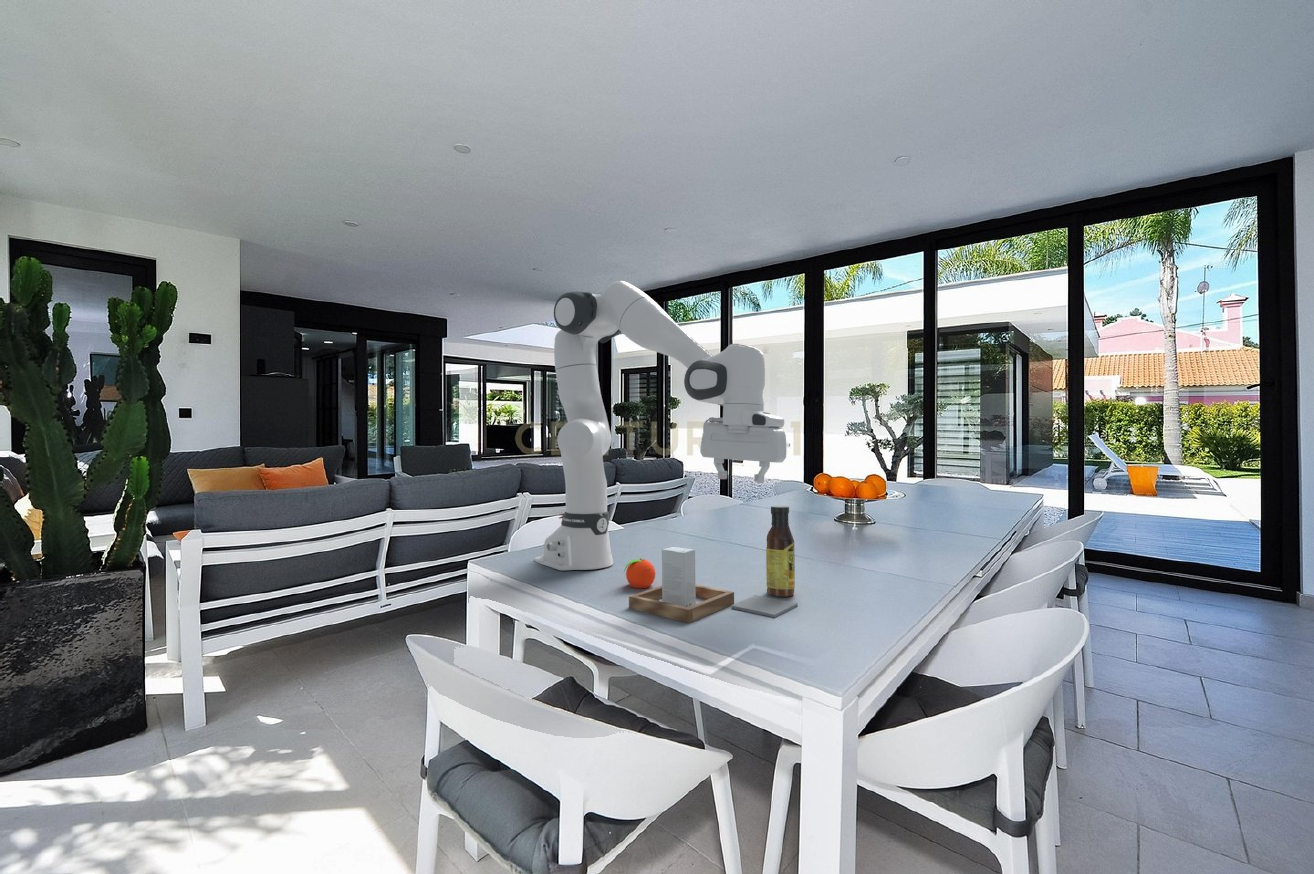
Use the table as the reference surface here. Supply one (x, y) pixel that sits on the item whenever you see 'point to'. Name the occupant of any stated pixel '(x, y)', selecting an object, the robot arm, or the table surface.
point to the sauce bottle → (780, 555)
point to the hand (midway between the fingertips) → (740, 480)
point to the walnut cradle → (685, 614)
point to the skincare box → (678, 576)
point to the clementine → (640, 573)
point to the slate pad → (764, 606)
